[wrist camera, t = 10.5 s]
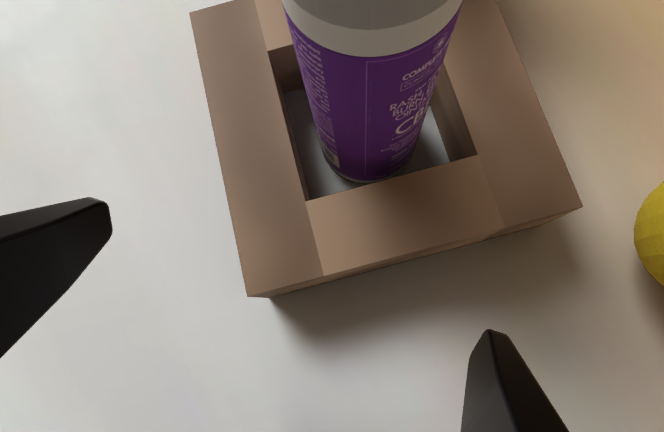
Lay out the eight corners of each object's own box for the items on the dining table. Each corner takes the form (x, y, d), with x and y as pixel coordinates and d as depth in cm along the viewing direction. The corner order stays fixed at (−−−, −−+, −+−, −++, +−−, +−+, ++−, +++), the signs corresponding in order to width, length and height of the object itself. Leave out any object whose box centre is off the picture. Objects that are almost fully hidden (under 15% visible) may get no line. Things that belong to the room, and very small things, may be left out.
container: (402, 194, 19) (533, -173, 4) (309, 170, 20) (150, -220, 5) (425, 107, 20) (598, -442, 5) (335, 87, 20) (265, -452, 6)
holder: (268, 298, 18) (247, 296, 15) (216, 59, 21) (189, 12, 18) (541, 224, 18) (583, 206, 15) (451, -6, 21) (468, -66, 18)
